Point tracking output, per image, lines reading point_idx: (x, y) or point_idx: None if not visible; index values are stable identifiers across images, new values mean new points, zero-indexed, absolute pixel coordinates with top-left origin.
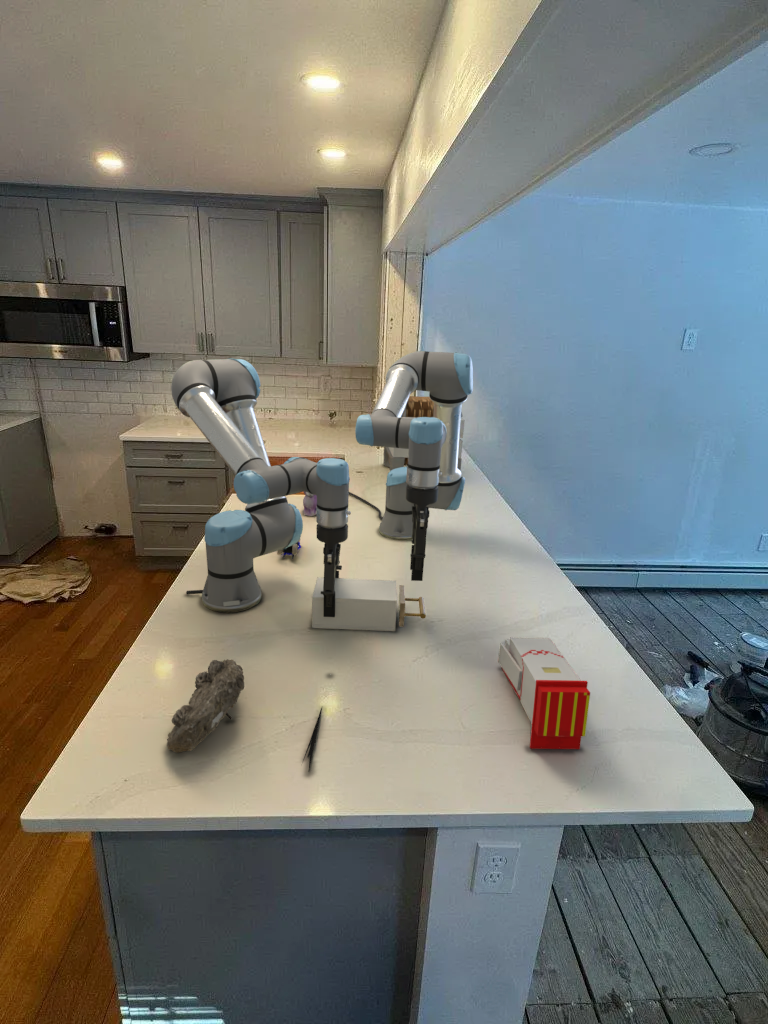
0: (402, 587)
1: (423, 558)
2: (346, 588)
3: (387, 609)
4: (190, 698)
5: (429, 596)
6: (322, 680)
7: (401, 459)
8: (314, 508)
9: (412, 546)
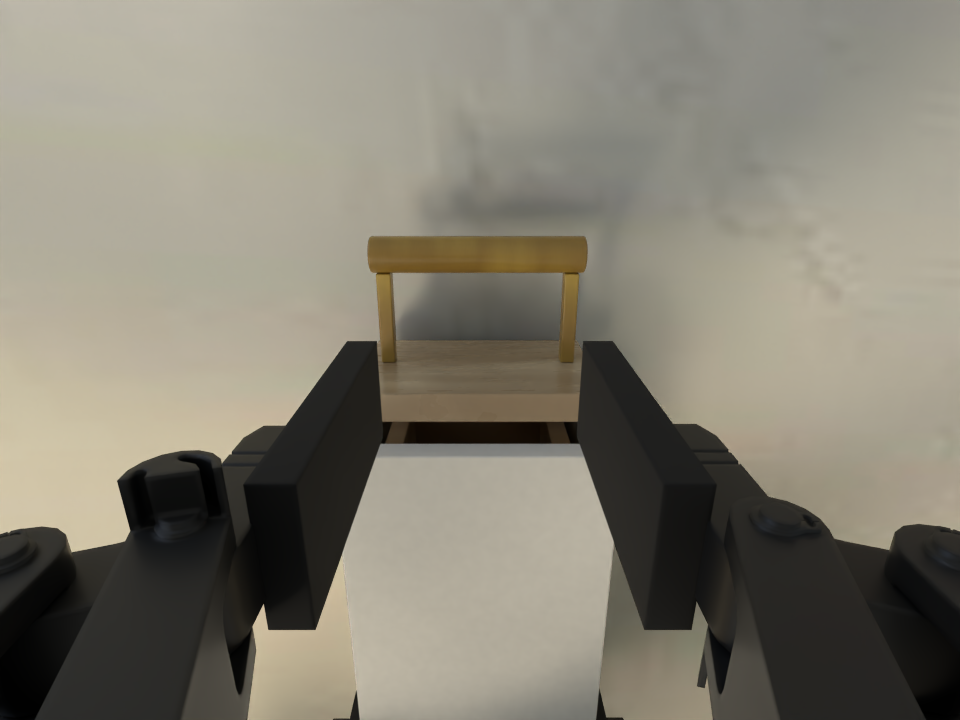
0: (383, 404)
1: (703, 474)
2: (483, 701)
3: None
4: None
5: (184, 170)
6: None
7: None
8: None
9: (316, 616)
